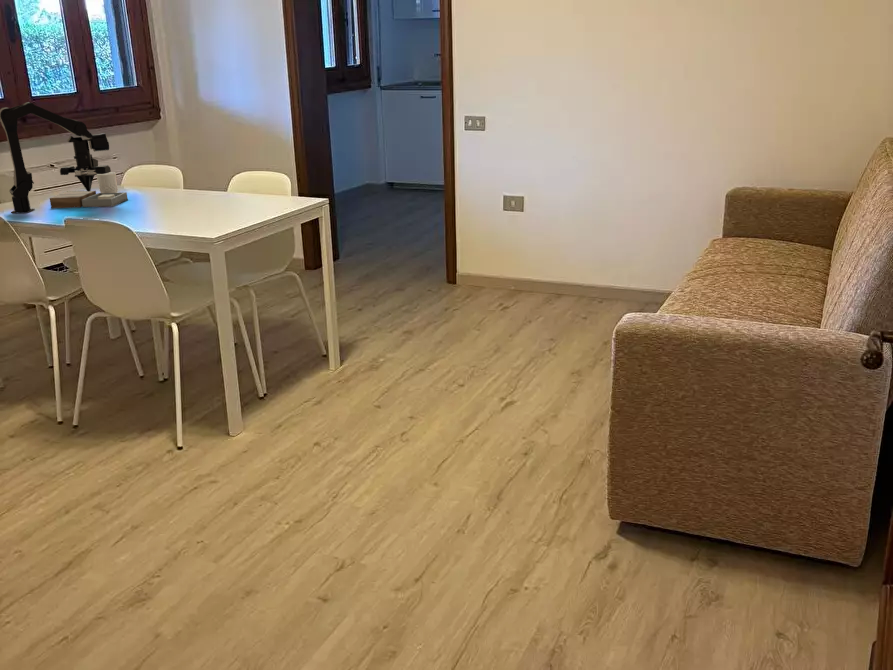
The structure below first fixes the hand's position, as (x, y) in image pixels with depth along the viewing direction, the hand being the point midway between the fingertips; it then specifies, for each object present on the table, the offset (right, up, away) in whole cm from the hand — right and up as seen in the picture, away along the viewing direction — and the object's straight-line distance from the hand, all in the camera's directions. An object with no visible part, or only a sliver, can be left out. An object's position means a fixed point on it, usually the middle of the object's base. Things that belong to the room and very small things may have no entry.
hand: (88, 191), depth 340 cm
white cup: (+2, 0, +17) cm, 17 cm away
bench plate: (-7, -5, +2) cm, 8 cm away
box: (+6, -5, +1) cm, 8 cm away
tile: (+7, -2, +1) cm, 7 cm away
